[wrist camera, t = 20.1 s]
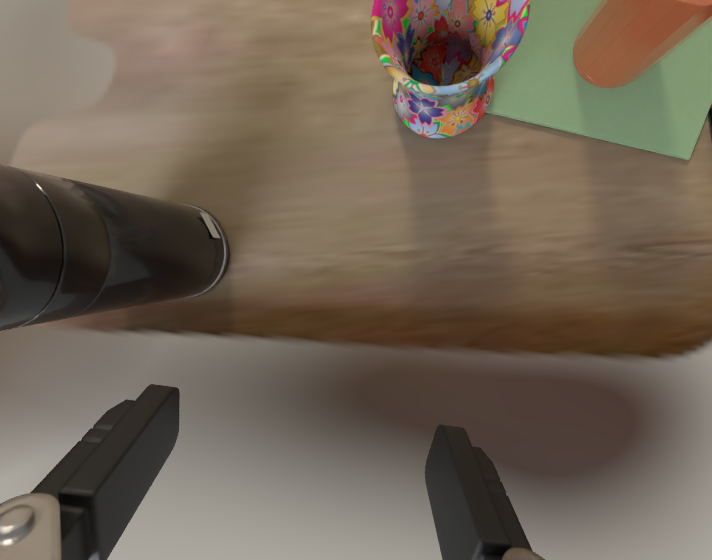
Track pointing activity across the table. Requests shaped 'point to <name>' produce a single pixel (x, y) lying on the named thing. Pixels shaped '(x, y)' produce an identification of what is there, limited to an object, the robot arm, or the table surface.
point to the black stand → (710, 119)
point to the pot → (634, 37)
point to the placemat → (604, 105)
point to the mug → (445, 57)
